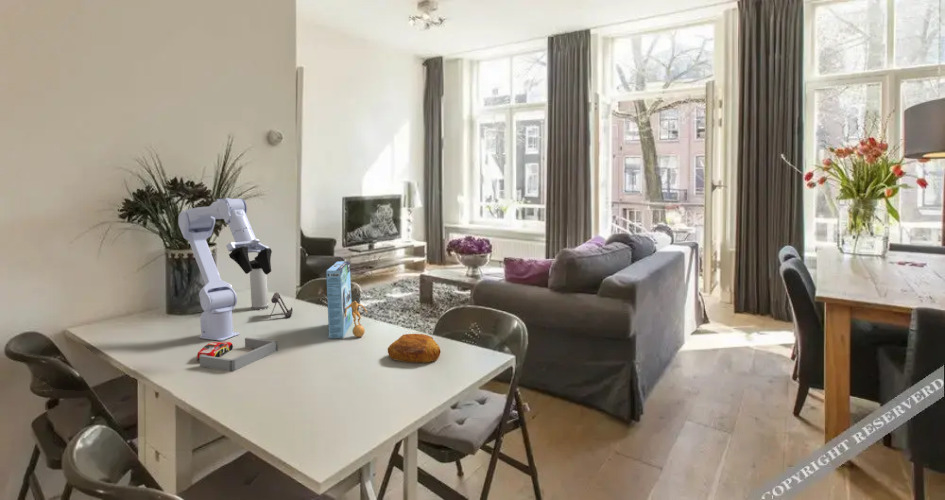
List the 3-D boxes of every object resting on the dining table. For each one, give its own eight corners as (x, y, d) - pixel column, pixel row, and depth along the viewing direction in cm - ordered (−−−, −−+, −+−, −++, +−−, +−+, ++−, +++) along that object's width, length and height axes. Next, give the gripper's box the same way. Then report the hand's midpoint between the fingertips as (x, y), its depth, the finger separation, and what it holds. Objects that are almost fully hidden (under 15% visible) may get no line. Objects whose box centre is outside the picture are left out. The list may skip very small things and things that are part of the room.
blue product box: (343, 338, 167) (341, 270, 163) (327, 339, 166) (325, 270, 163) (352, 322, 186) (351, 261, 183) (338, 322, 185) (336, 261, 182)
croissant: (429, 375, 142) (433, 348, 140) (380, 361, 146) (383, 335, 144) (447, 356, 156) (450, 332, 154) (401, 344, 160) (404, 321, 158)
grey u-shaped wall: (200, 366, 141) (199, 356, 141) (247, 346, 158) (247, 337, 158) (232, 371, 138) (231, 360, 137) (277, 350, 154) (277, 341, 154)
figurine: (349, 340, 164) (348, 304, 163) (341, 336, 169) (340, 301, 167) (372, 335, 170) (371, 301, 168) (364, 331, 174) (363, 297, 173)
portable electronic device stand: (291, 318, 191) (290, 296, 189) (268, 319, 188) (267, 298, 187) (292, 312, 199) (291, 291, 198) (271, 313, 197) (270, 292, 196)
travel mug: (272, 306, 207) (270, 258, 205) (260, 310, 201) (258, 261, 199) (260, 305, 210) (257, 257, 207) (248, 309, 203) (245, 260, 201)
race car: (219, 348, 158) (218, 335, 157) (236, 348, 157) (235, 336, 157) (193, 363, 145) (192, 349, 144) (211, 363, 144) (210, 350, 144)
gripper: (232, 223, 144) (249, 264, 141) (269, 229, 157) (285, 266, 154) (216, 236, 146) (232, 277, 143) (254, 240, 159) (269, 278, 156)
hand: (258, 272), depth 149 cm, fingers open, 7 cm apart
